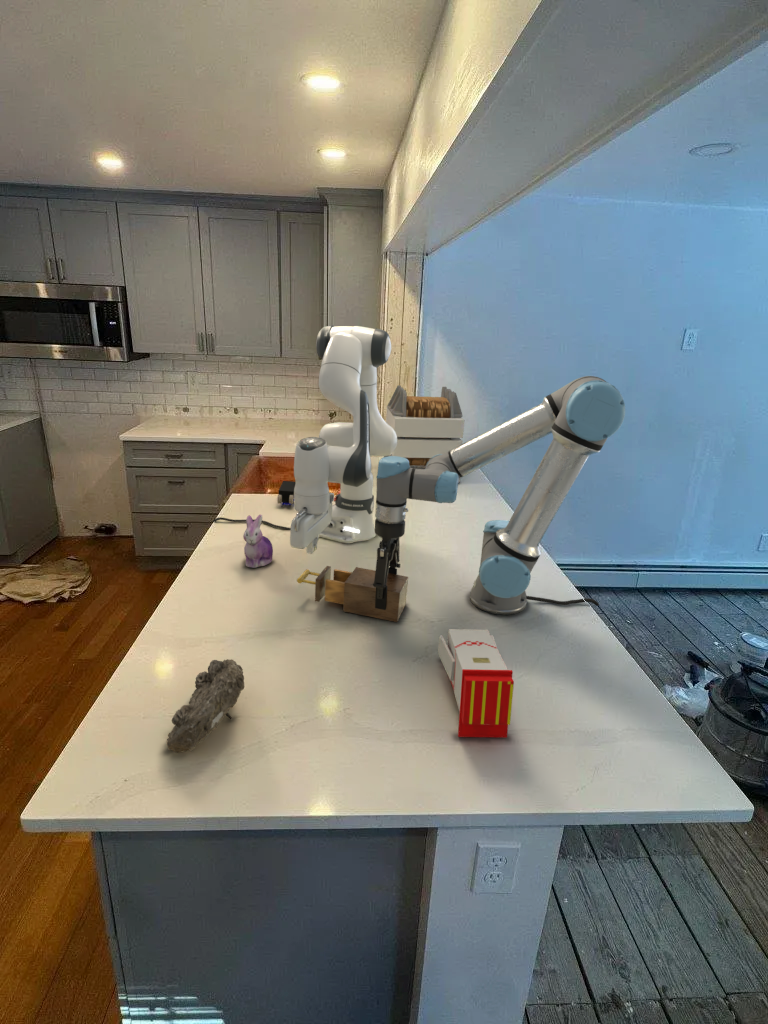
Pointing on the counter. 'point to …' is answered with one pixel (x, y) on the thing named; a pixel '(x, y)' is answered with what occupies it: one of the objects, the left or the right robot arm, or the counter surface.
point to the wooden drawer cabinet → (374, 595)
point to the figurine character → (286, 493)
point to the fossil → (206, 705)
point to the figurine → (256, 544)
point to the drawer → (327, 584)
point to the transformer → (425, 425)
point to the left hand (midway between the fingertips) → (311, 551)
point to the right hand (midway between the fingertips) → (385, 599)
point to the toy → (478, 682)
